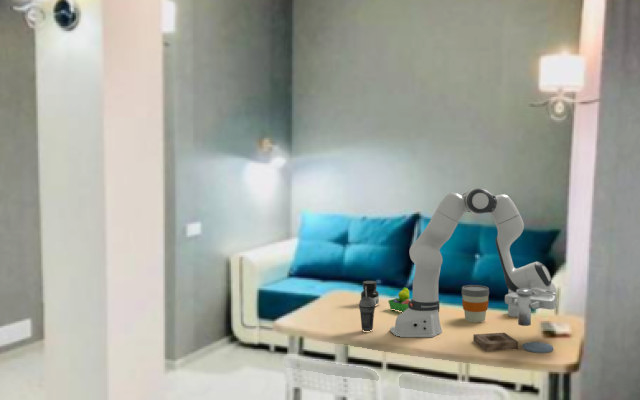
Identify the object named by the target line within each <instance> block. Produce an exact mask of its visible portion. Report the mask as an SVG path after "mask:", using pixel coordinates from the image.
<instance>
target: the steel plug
mask: <svg viewBox="0 0 640 400" xmlns="http://www.w3.org/2000/svg"><path fill="white" fill-rule="evenodd" d="M516 294H518V317H517V325H519V326H523V327H527V326H531V325H532V315H531V314H532V308H530V303H531V295H532V290H531V289H530V288H528V289H526V288H521V289H517V290H516Z"/></svg>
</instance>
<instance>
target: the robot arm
mask: <svg viewBox="0 0 640 400" xmlns="http://www.w3.org/2000/svg"><path fill="white" fill-rule="evenodd" d="M467 212H468V213H472V214H475V215H479V214H480V215H481V214H489V215H490V216H491V218H492V219H493V222H494V224H495V226H496V230H497V236H496V237H495V246H496V249H497V250H496V251H497V254H498V257H499V261H500V265H501V268H502V270H503V276H504V281H505V285H506V288H507V289H508V290H511V291H513V292H515V293H510V294H508V293H507V294H505V295H504V303H505V304H506V305H508V304H512V305H514V306H518V294H516V290H517V289H521V288H526V289H531V290H532V295H531V303H530V308H531V309H532V310H533V309H534V310H537V309H538V310H539V309H543V310H544V309H545V310H555V309H556V308H557V303H558V302H557V299H558V298H557V288H556V286H555V284H554V283H553V282H552V276H551V272H550V271H549V269H548V267H547V266H546V265H545V264H543V263H542V262H540V261H534V262H531V263H528V264H526V265H524V266H521V267H515V266H514V262H513V259H512V255H511V251H510V249H511V246H512V245H513V243H514V242H515V241H516V240H517V239H518V238H520V237H521V235H522V233H523V231H524V228H525V223H524V220H523V218H522V216H521V214H520V211H519V210H518V207H517V206H516V205H515V203H514V201H513V200H512V199H511V197H510V196H509V195H507V194H504V193H503V194H498V195H493V194H492V193H491V192H490V191H488V190H487V189H484V188H480V187H476V188H472V189H469V190H468V191H467V192H465V193H463V194H459V193H457V192H449V193H447V194H446V195H445V196H444V198H442V200H441V201H440V203H439V204H438V206H437V208H436V210H435V211H434V213H433V215H432V216H431V218H430V221H429V222H428V224H427V226H426V227H425V228H424V230H423V231H421V234H420V235H419V236H418V237H417V238H416V241H414V243H412V245H411V246H410V248H409V257H410V260H411V261H412V263H414V264H415V270H414V275H413V276H414V277H413V279H412V299H411V300H410V298H409V299H406V300H405V303H406V304H408V309H406V310H405V311H404V312H403V313H400V314H398V315H397V317H396V319H395V324H394V326H390V328H389V331H390V330H391V332H392V333H393V334H394V335H393V334H392V333H391V332H390V333H391V334H392V335H393V336H395V335H396V336H395V337H397V336H400V337H399V338H433V337H435V336H438V335H440V334H442V331H443V330H442V327H441V323H440V314H439V313H440V307H441V306H440V299H439V280H440V273H441V267H442V265H443V256H442V253H441V251H440V250H441V248H442V247H443V245H444V244H445V243H446V242H448V241H449V240H450V238H451V237H452V235H453V234H454V232H455V230H456V228H457V227H458V225H459V222H460V220H461V219H462V217H463V215H465V213H467Z"/></svg>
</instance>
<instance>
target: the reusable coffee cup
mask: <svg viewBox="0 0 640 400" xmlns="http://www.w3.org/2000/svg"><path fill="white" fill-rule="evenodd" d="M489 289H490V288H489V287H487V286H485V285H479V284H468V285H463V286H462V287H461V296H462V299H461V301H462V302H461V303H462V309H463V312H464V320H465V321H467V322H469V323H482V322H485V321H486V314H487V311H488V308H489V295H490V290H489Z"/></svg>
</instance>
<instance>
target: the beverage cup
mask: <svg viewBox="0 0 640 400" xmlns="http://www.w3.org/2000/svg"><path fill="white" fill-rule="evenodd" d="M365 293H366V297H363V298H362V299H361V298H360V300H359V304H358V307H359V313H360V323H361V331H362V330H364V331H370V330H372V329H373V328H374V318H375V317H374V316H375V310H376V307H375V302H374V300H373V299H372V298H371V297H368V296H367V291H366V286H365ZM372 331H373V330H372Z"/></svg>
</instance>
